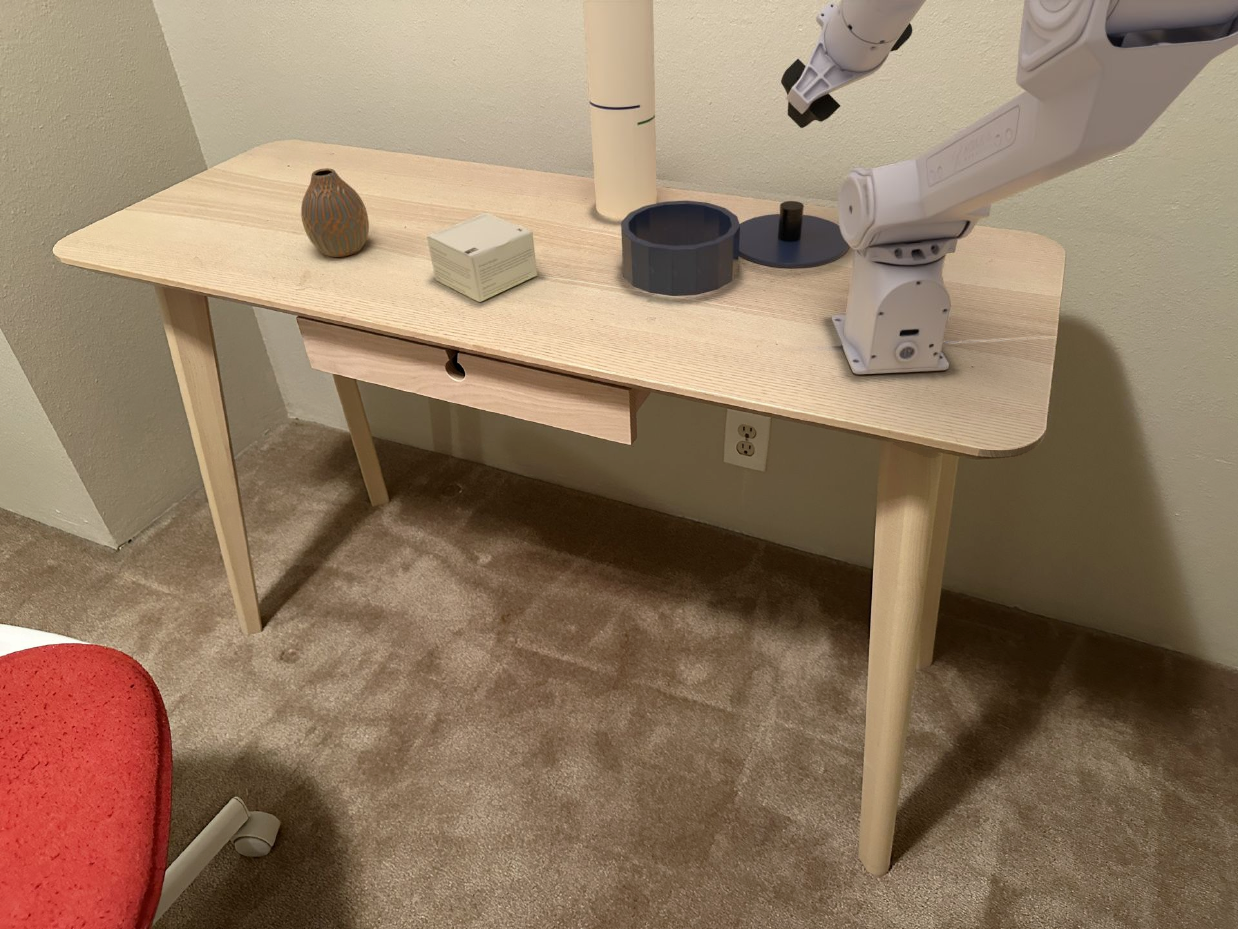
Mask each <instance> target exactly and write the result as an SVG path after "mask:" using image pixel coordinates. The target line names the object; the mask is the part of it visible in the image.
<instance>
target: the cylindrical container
mask: <svg viewBox="0 0 1238 929" xmlns="http://www.w3.org/2000/svg"><path fill="white" fill-rule="evenodd" d="M582 9H583V24H584V25H583V26H584V40H585V41H584V42H585V54H586V55H585V56H586V57H585V58H586V69H587V85H588V99H589V117H590V118H589V119H590V131H591V132H590V133H591V149H592V166H593V179H594V193H595V194H594V195H595V208H596V212H598V213H599V214H601V215H602V216H604V217H608V218H613V219H624V218H625V217H626V216H627V215H628V214H629V213H630V212H633V211H635V210H637V209H639V208H641V207H643V206H647V205H651V204H656V203H658V198H657V196H658V194H657V192H658V191H657V190H658V189H657V142H656V140H657V139H656V138H657V136H656V134H657V132H656V86H655V83H656V82H655V41H654V39H655V38H654V36H655V33H654V32H655V31H654V29H655V28H654V0H582Z"/></svg>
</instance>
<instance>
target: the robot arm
mask: <svg viewBox="0 0 1238 929" xmlns="http://www.w3.org/2000/svg"><path fill="white" fill-rule="evenodd" d="M926 1H927V0H840V1H839V3H838V4H837V3H836V2H835V1H830V2H828V3H826V5H825V6H824V7H823V8H822V9H820V10H819V11H818V13H817V15H816V17H815V20H816V23H817V24H818V25H819V26H820V27H821V32H820V34H819V36H818V38H817V41H816V43H815V45H814V47H813V49H812V52H811V54H810V55H809V58H808V60H807V61H806V62H807V63H806V65H805V63H804V62H802V60H800V59H799V58H797V59H796V60H795V61H794V62H793V63H792V64H790V66H788V67H787V68H786V70H785V71H784V72H783V75H782V77H781V80H780V83H781V85H782V86H783V88H784V90H785V93H786V95H787V96H786V98H785V99H786V100H787V116H788V117H789V118H790V119H791V120H792V121H793V122H794V123H795V124H796V125H797V126H798V127H799V128H800V129H803V128H806V127H807V126H809V125H810V124H812V122H814V121H818V122H819V123H822V122H824V121H826V120H828V119H830V117H831V116H833V114H834V113H835V112H836V111H838V109H840V108H841V106H842V105H841V104H840V103H839V102H837V100H836V99H835V98H833V96H832V95H831V93H832V92H835V91H837V90H839V89H842V88H844V87H847V86H849V85H852V84H853V83H855V82H858V81H861V80H863V79H865V78H867V77H870V76H872V75H873V74H875V73H876V72H877V71H879V70H880V69H881V68H882V67H883V65H884V64H885V62H886V61H887V59H888V57H889V55H890V53H891V52H894V51H898V50H899V49H900V48H901V47H902V46H903V45H904V44H905V43H906V42H907V41H908V40H909V39H910V37H912V34H913V25H912V24H911V22H912V21H913V19H914V18H915V16H916V15H917V14H918V12H919V11H920V9H921V8H922V7H923V5H924V4H925V3H926ZM1023 1H1024V2H1023V10H1022V11H1023V12H1022V17H1021V18H1022V19H1021V27H1020V36H1019V44H1018V53H1017V58H1018V61H1017V68H1016V76H1015V82H1016V85H1017V86H1018V87H1019V88H1021V89H1022V90H1024V91H1023V92H1022V93H1020V94H1019V95H1017V96H1015V97H1014V98H1012V99H1011V100H1009V101H1007V102H1006V103H1004V104H1002V105H1000V106H999V107H998V108H996V109H994V110H992V111H991V112H989V113H987V114H985V115H984V116H983V117H981V118H980V119H977V120H976V121H975V122H973V123H971V124H969V125H967V126H966V127H965V128H963V129H961V130H960V131H957V133H955V134H953V135H952V136H950V137H947V139H945V140H943V141H942V142H940V143H938V144H936V145H935V146H933V147H932V148H930V149H928V150H927V151H925V152H923V153H921V154H920V155H918V156H917V157H914V158H910V159H906V160H902V161H898V162H897V161H896V162H894V163H893V162H892V163H889V164H888V163H887V164H885V165H880V166H877V167H869V168H868V167H867V168H865V167H862V166H858V167H853V168H851V169H849V171H848V172H847V174H846V175H845V177H844V178H843V180H842V182H841V184H840V187H839V190H838V195H837V207H836V208H837V222H838V225H839V228H840V231H841V234H842V236H843V238H844V240H845V241H846V242H847V243H848V245H849V248H851V249H852V250H853V251H854V253H853V260H852V267H851V273H850V282H849V289H848V296H847V303H846V309H845V314H844V313H843V314H833V315H831V317H830V319H831V320H832V323H833V325H834V327H835V330H836V332H837V335H838V337H839V340H840V342H841V344H842V345H841V348H842V351H843V352H844V355H845V357H846V359H847V362H848V364H849V366H850V369H851V372H852V373H854V374H855V375H873V374H875V375H877V374H895V373H896V374H897V373H914V372H915V373H916V372H936V371H939V372H940V371H946V370H948V369H949V367H950V363H949V361H948V360H947V358H946V356H945V355H944V352H942V348H943V343H944V340H945V336H946V331H947V326H948V322H949V317H950V313H951V307H952V304H951V296H950V294H949V291H948V289H947V287H946V284H945V281H944V275H943V274H944V271H943V270H944V267H945V266H944V265H945V261H946V256H947V255H948V254H952V253H953V254H954V253H956V250H957V244H958V241H959V240H963V239H965V238H967V237H968V236H969V235H970V234H971V232H972V231H973V230H974V228H975V226H976V225H977V223H978V222H980V221H981V220H983V219H985V218H988V217H990V214H991V210H992V209H991V208H992V204H995V203H998V202H1000V201H1003V200H1005V199H1007V198H1009V197H1012V196H1014V195H1017V194H1020V193H1023V192H1024V191H1026V190H1029V189H1032V188H1034V187H1036V186H1039V185H1042V184H1044V183H1046V182H1049V181H1051V180H1053V179H1057V178H1058V177H1062V176H1064V175H1066V174H1068V173H1071V172H1074V171H1076V170H1078V169H1082V168H1084V167H1085V166H1089V165H1090V164H1093V163H1096V162H1098V161H1100V160H1103V159H1105V158H1108V157H1110V156H1113V155H1115V154H1118V153H1120V152H1123V151H1125V150H1127V149H1128V148H1130V147H1131V146H1132V145H1134V144H1135V143H1136V142H1137V141H1138V140H1139V139H1140V138H1141V137H1142V136H1143V135H1144V134H1145V133H1146V132H1147V131H1148V130H1149V129H1150V128H1151V126H1152V125H1153V124H1154V123H1155V122H1156V121H1157V120H1158V119H1159V118H1160V117H1161V115H1162V114H1163V113H1164V112H1165V111H1166V110H1167V109H1168V108H1169V107H1170V106H1171V105H1172V104H1173V103H1174V102H1175V100H1176V99H1177V98H1178V97H1180V95H1181V93H1182V92H1183V91H1184V90H1186V89H1187V87H1188V86H1189V85H1190V84H1191V83H1192V82H1193V80H1194V79H1195V78H1196V77H1197V76H1198V75H1199V74H1200V73H1201V72H1202V71H1203V70H1204V69H1205V67H1206V66H1207V65H1208V64H1209V63H1210V62H1211V61H1212V60H1214V59H1215V58H1217V57H1218V56H1220V55H1222V54H1224V53H1226V52H1227V51H1229V50H1231V49H1232V48H1234V47H1236V46H1237V45H1238V0H1023ZM837 320H839V321H837Z"/></svg>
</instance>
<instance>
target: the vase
mask: <svg viewBox="0 0 1238 929" xmlns="http://www.w3.org/2000/svg"><path fill="white" fill-rule="evenodd" d="M300 213H301V214H300V215H301V222H302V226H303V229H304V232H305V234H306V236H307V238H308V239H309V241H310V242H311V244H312V245H313V246H314V247H315V248H316V249H317V250H318V251H320V253H323V254H324V255H326V256H328V257H332V258H343V257H348V256H352V255H354V254H356V253H358V252H359V251H361V250H362V248H363V247H364V245H365V244H366V242H367V240H368V237H369V233H370V232H369V231H370V221H369V216H368V210H367V207H366V206H365V203H364V201H363V199H362V197H361V196H360V195H359V193H358V192H357V191H356V190H355V189H354V188H353V187H352V186H351V185H350V184H348V183H347V182H346V181H345V180H344V179H342V178H341V177H340V176H339V175H338V173H337V172H336V170H335V169H333V168H329V167H326V168H319V169H317V170H314V171H313V172H312V173H311V177H310V183H309V185H308V187H307V189H306V191H305V193H304V196H303V198H302V201H301V209H300Z"/></svg>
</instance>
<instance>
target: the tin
mask: <svg viewBox="0 0 1238 929" xmlns="http://www.w3.org/2000/svg"><path fill="white" fill-rule="evenodd" d="M620 231H621V232H620V233H621V256H622V257H621V258H622V276H623V278H624V279H625V281H627V282H628V283H629V284H630V285H631V286H632V287H634V288H636V289H639V290H641V291H644V292H646V293H649V294H653V295H654V294H655V295H660V296H661V295H662V296H668V297H685V296H698V295H703V294H705V293H710V292H715V291H718V290H719V289H721V288H723V287H724V286H727V285H728V284H729V283H732V282H733V280H734V278H735V277H736V275H737V274H738V272H739V261H740V260H739V259H740V256H739V239H740V220H739V218H738V215H736V214H734V213H733V212H732V211H731V210H729V209H728V208H725V207H724V206H720V205H718V204H713V203H711V202H707V201H696V200H669V201H668V200H667V201H660V202H657V203H656V204H651V205H647V206H643V207H641V208H639V209H637V210H635V211H633V212H630V213H629V214H628V215H627V216H626V217H625V218H622V220H621V222H620Z"/></svg>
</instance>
